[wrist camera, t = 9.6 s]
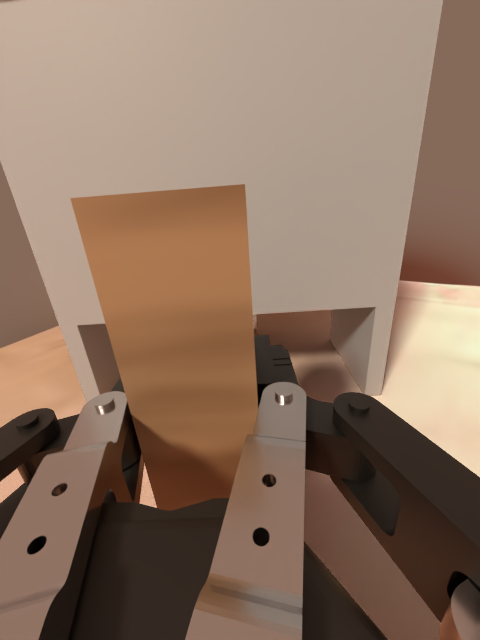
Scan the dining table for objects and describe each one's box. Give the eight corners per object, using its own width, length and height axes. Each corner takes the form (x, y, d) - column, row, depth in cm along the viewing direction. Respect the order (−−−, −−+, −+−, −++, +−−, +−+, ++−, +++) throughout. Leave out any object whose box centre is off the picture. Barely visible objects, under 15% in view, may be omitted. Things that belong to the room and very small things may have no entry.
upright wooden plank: (281, 582, 11) (270, 181, 5) (166, 586, 11) (45, 200, 6) (257, 350, 28) (248, 197, 23) (212, 353, 28) (193, 201, 23)
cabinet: (387, 397, 20) (470, -102, 11) (83, 412, 21) (-83, -38, 12) (343, 337, 29) (369, 33, 20) (130, 349, 30) (57, 64, 21)
